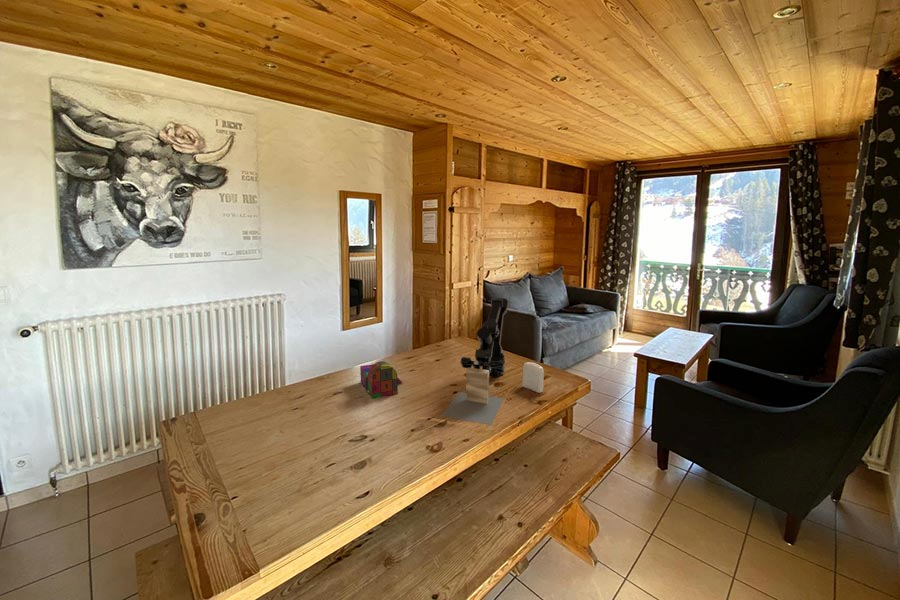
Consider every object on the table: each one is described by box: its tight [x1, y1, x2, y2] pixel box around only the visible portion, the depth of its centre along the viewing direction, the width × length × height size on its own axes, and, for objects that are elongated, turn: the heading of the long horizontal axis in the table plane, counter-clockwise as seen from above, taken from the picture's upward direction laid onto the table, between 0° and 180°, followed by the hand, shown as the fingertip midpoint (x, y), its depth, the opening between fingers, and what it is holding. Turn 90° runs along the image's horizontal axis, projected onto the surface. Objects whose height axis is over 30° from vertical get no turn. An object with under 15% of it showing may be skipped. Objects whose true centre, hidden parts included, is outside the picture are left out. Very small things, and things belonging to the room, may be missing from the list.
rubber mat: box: [441, 391, 504, 426], centre depth 166 cm, size 24×20×1 cm
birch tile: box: [465, 367, 490, 404], centre depth 170 cm, size 3×9×14 cm, turn 72°
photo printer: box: [522, 361, 545, 394], centre depth 185 cm, size 10×4×12 cm, turn 39°
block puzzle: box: [359, 360, 403, 399], centre depth 188 cm, size 25×17×14 cm
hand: (478, 382), depth 171 cm, fingers closed
